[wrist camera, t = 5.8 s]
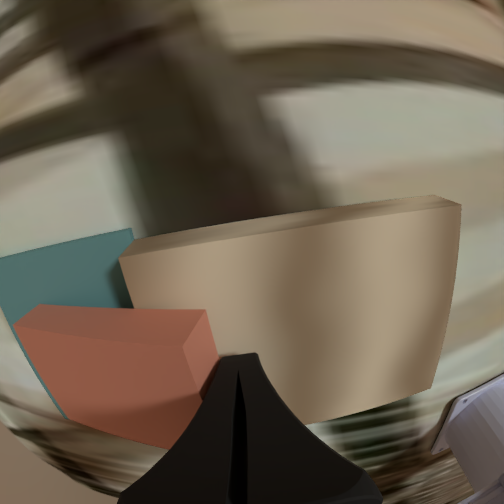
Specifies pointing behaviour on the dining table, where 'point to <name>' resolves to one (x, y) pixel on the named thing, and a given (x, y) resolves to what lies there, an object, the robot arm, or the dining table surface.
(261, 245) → the block
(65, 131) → the dining table surface
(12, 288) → the mat
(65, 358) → the pink rubber eraser
